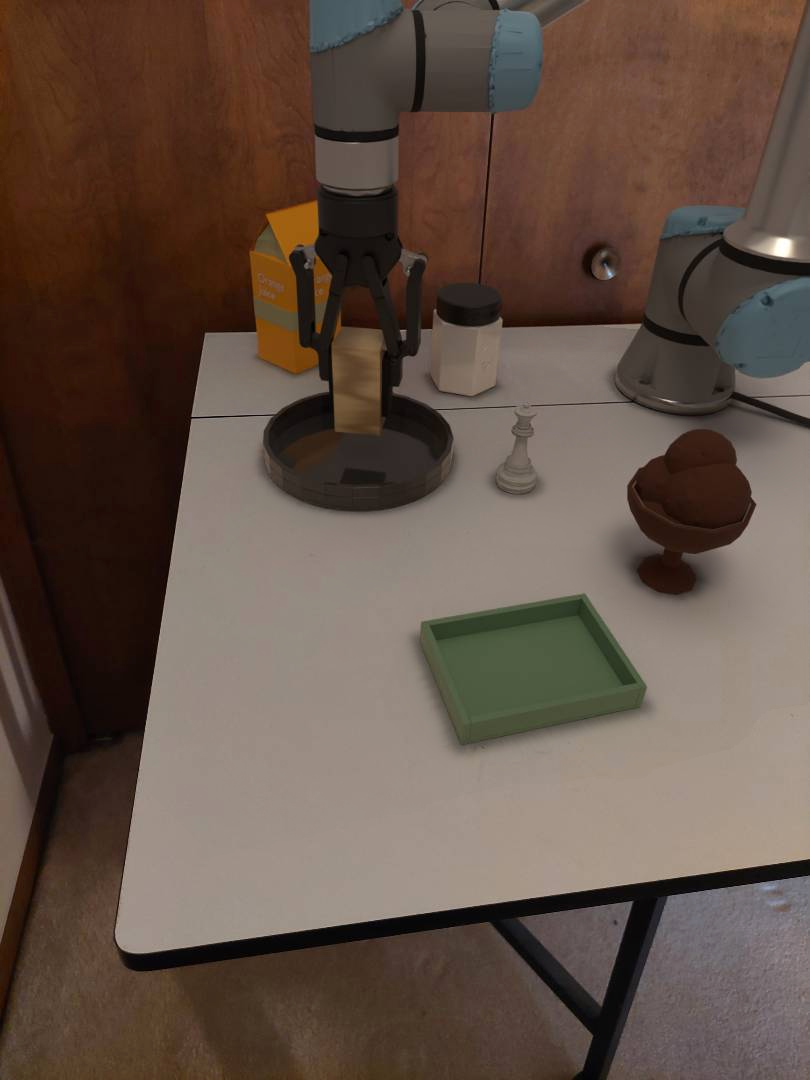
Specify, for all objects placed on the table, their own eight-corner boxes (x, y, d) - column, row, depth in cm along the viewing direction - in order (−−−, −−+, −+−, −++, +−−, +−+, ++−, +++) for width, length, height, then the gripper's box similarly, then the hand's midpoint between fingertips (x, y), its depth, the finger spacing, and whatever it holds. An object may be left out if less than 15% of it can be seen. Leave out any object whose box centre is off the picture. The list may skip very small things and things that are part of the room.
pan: (459, 420, 99) (461, 398, 97) (440, 521, 82) (442, 498, 81) (292, 403, 101) (291, 381, 99) (240, 499, 85) (238, 475, 83)
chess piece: (509, 498, 86) (521, 416, 80) (488, 477, 89) (497, 397, 83) (543, 488, 88) (556, 407, 82) (520, 468, 91) (532, 389, 85)
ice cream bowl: (586, 555, 79) (616, 422, 70) (677, 530, 83) (717, 401, 73) (653, 626, 71) (696, 487, 62) (750, 595, 75) (804, 460, 66)
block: (387, 413, 91) (388, 329, 84) (380, 435, 87) (379, 350, 81) (344, 409, 91) (341, 326, 85) (334, 431, 87) (331, 346, 81)
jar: (462, 403, 102) (469, 313, 95) (417, 380, 107) (421, 293, 99) (507, 382, 107) (518, 295, 100) (463, 361, 112) (470, 276, 104)
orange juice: (342, 354, 112) (339, 206, 100) (295, 374, 107) (286, 220, 95) (304, 337, 116) (296, 192, 104) (257, 356, 111) (243, 206, 99)
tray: (580, 612, 72) (585, 593, 71) (641, 706, 64) (647, 686, 63) (419, 641, 69) (420, 621, 67) (461, 745, 61) (463, 724, 59)
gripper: (459, 179, 75) (446, 399, 90) (273, 168, 77) (290, 385, 92) (451, 202, 70) (439, 433, 84) (250, 189, 71) (272, 418, 86)
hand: (361, 408), depth 88 cm, fingers closed on block, 5 cm apart
